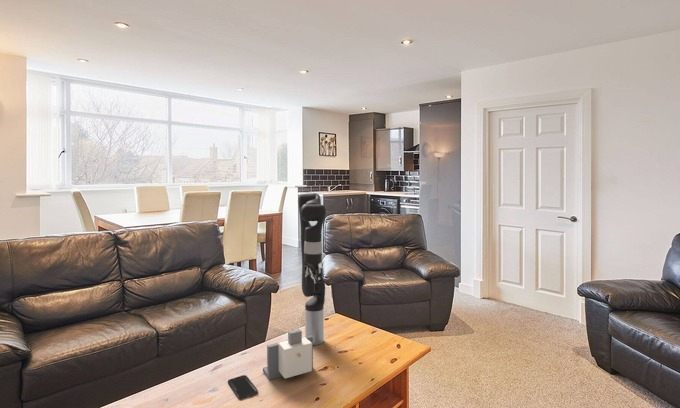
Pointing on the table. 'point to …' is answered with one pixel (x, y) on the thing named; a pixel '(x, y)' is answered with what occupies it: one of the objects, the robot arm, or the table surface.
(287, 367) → the cabinet
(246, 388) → the phone
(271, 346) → the wall board
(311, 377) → the table surface
